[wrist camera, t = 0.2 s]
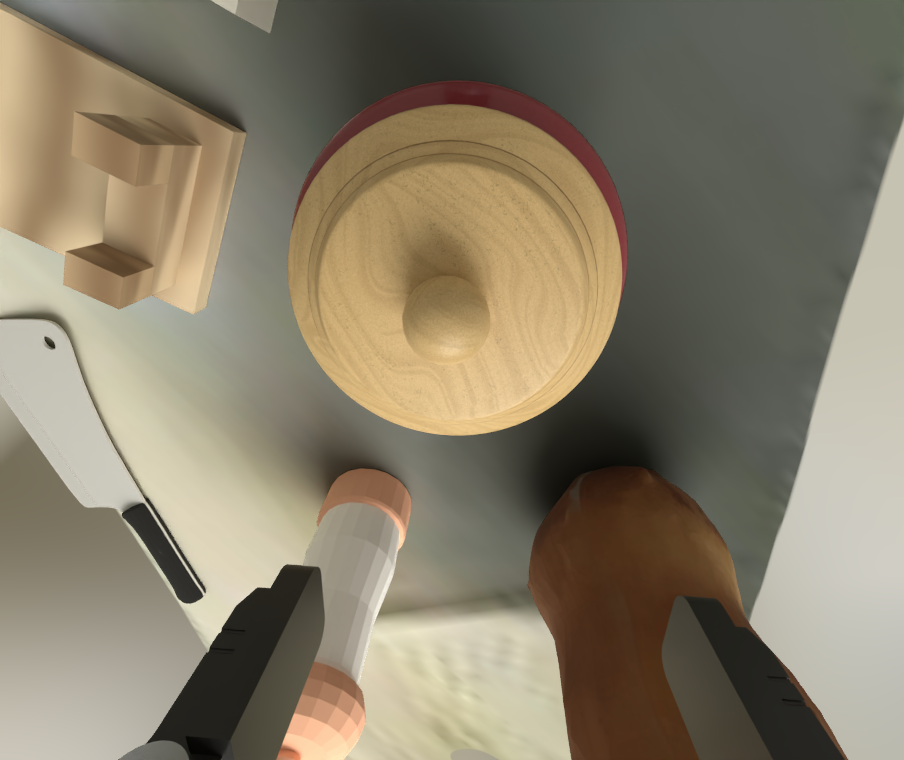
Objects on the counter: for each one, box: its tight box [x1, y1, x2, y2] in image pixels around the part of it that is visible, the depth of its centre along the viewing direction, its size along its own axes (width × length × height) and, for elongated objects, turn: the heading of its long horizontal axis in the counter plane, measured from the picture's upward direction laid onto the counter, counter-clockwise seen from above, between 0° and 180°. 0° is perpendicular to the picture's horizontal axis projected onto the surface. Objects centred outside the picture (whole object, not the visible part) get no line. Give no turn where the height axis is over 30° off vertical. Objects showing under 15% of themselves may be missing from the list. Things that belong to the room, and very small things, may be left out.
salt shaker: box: [276, 468, 411, 760], centre depth 30 cm, size 7×7×19 cm
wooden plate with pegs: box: [0, 2, 247, 314], centre depth 24 cm, size 20×12×6 cm, turn 63°
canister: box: [288, 80, 628, 435], centre depth 20 cm, size 13×13×18 cm
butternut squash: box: [527, 466, 848, 760], centre depth 26 cm, size 14×13×25 cm
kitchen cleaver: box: [0, 319, 206, 603], centre depth 39 cm, size 31×2×10 cm
